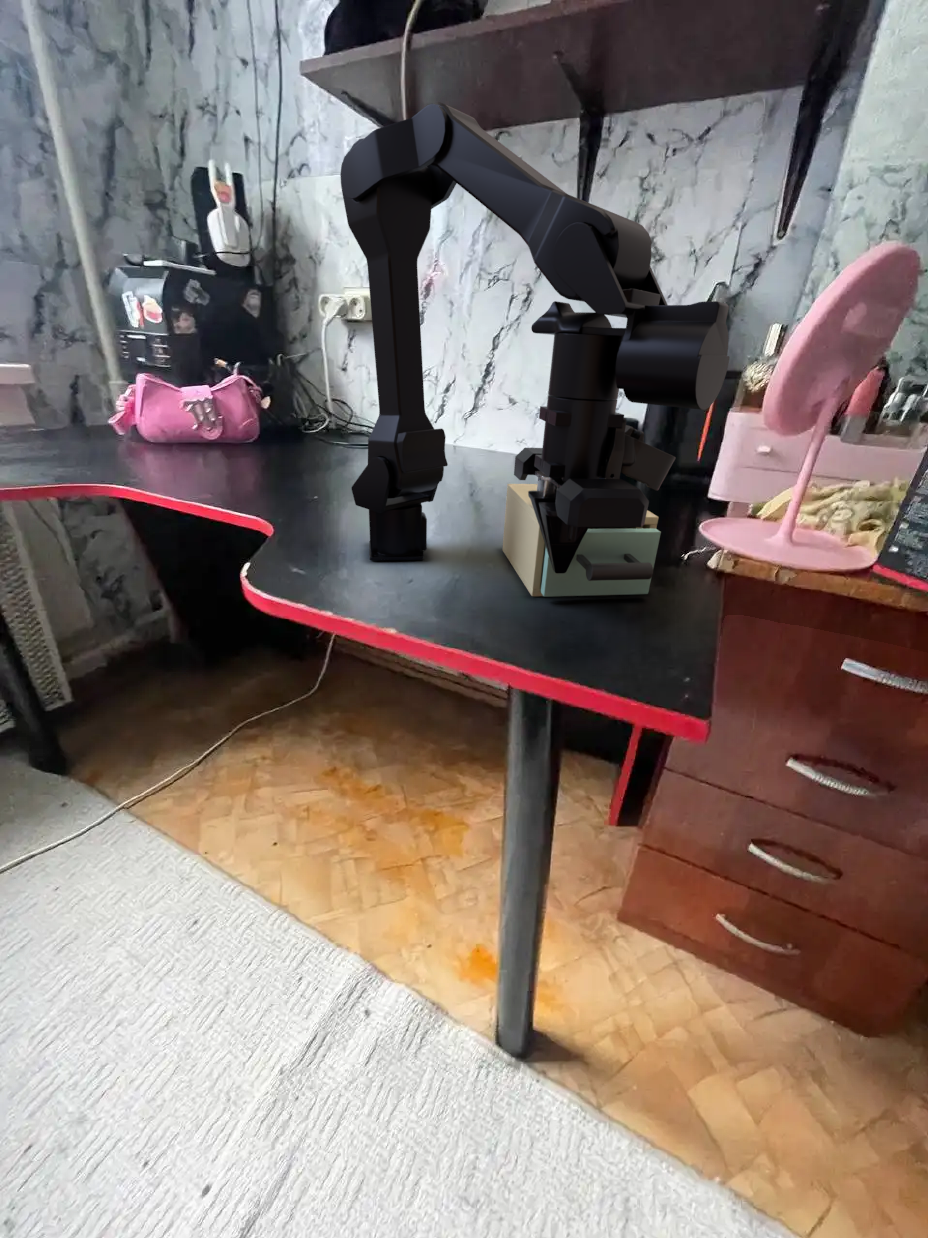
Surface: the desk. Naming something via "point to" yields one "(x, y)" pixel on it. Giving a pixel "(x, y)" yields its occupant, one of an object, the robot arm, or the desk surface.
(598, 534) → the drawer
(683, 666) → the desk surface
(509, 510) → the cabinet
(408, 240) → the robot arm
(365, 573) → the desk surface
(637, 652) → the desk surface
